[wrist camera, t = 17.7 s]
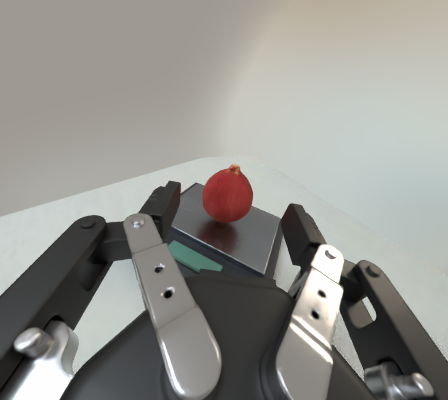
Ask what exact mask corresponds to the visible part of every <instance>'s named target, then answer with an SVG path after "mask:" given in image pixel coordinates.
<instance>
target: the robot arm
mask: <svg viewBox="0 0 448 400" xmlns="http://www.w3.org/2000/svg"><path fill="white" fill-rule="evenodd" d="M180 192H181V183H180V182H174V181H169V182H168V183H167V185H166V187H162V186H160V187H158V188H157V189H155V190H154V191H153V193H152V194H151V196H150V197H149V199H148V200H147V201H146V203H145V204H144V205H143V207H142V208H141V210H140V211H139V212H138V213H137V214H133V215H131V216H129V217H127V218H126V219H125V221H122V222H109V223H106V221H105V219H104V218H103V217H101V216H97V215H91V216H86V217H83V218H80V219H78V220H77V221H75V222H74V223H73V224H72V225H71V226H70V227H69V228H68V229H67V230H66V231H65V232H64V233H63V234H62V235H61V236H60V237H59V238H58V239H57V240H56V241H55V242H54V243H53V244H52V245H51V246H50V247H49V248H48V249H47V250H46V251H45V252H44V253H43V254H42V255H41V256H40V257H39V258H38V259H37V260H36V261H35V262H34V263H33V264H32V265H31V266H30V267H29V268H28V269H27V270H26V271H25V272H24V273H23V274H22V275H21V276H20V277H19V278H18V279H17V280H16V281H15V282H14V283H13V284H12V285H11V286H10V287H9V288H8V289H7V290H6V291H5V292H4V293H3V294H2V295H1V296H0V400H448V361H447V360H446V359H445V357H444V356H443V354H442V353H441V352H440V350H439V349H438V347H437V346H436V345H435V343H434V342H433V340H432V339H431V338H430V336H429V335H428V333H427V332H426V331H425V329H424V328H423V326H422V325H421V324H420V322H419V321H418V319H417V318H416V317H415V315H414V314H413V312H412V311H411V310H410V308H409V307H408V305H407V304H406V303H405V301H404V300H403V298H402V297H401V296H400V294H399V293H398V291H397V290H396V289H395V287H394V286H393V284H392V283H391V282H390V280H389V279H388V277H387V276H386V275H385V273H384V272H383V271H382V270H381V269H380V268H379V267H378V266H376V265H375V264H373V263H371V262H369V261H366V260H361V261H360V262H358V263H357V264H354V263H352V262H349V261H347V260H345V259H344V258H343V256H342V254H341V253H340V252H339V251H338V250H337V249H335V248H334V247H332V246H330V245H327V243H326V241H325V240H324V238H323V236H322V234H321V232H320V231H319V230H318V227H317V225H316V223H315V222H314V220H313V218H312V217H311V216H310V215H309V214H308V213H306V212H305V210H304V208H303V206H302V205H298V204H292V203H291V204H289V206H288V208H287V210H286V212H285V213H284V215H283V217H282V219H281V229H282V232H283V235H284V238H285V241H286V245H287V248H288V251H289V254H290V258H291V261H292V264H293V265H297V266H300V267H301V269H300V270H299V272H298V274H297V276H296V278H295V279H294V281H293V283H292V285H291V287H290V289H289V291H288V293H287V292H285V291H284V290H282V289H281V288H279V287H277V286H276V283H275V280H274V279H268V278H261V277H252V278H243V279H237V278H234V277H232V276H229V275H227V274H225V273H222V272H220V271H215V270H208V269H201V268H200V272H199V274H196V275H191V276H188V277H186V278H183V276H182V274H181V272H180V270H179V268H178V266H177V264H176V261H175V259H174V257H173V255H172V253H171V251H170V249H169V247H168V245H167V243H166V242H164V241H165V239H166V236H167V234H168V232H169V229H170V227H171V225H172V222H173V220H174V218H175V215H176V213H177V211H178V208H179V205H180ZM125 259H132V263H133V266H134V270H135V273H136V277H137V280H138V284H139V287H140V291H141V295H142V299H143V302H144V306H145V309H146V310H145V311H144V312H143V313H141V314H140V315H139V316H138V317H137V318H136V319H135V320H133V321H132V322H131V323H130V324H129V325H128V326H127V327H125V328H124V329H123V330H122V331H121V332H120V333H119V334H117V335H116V336H115V337H114V338H113V339H112V340H111V341H109V342H108V343H107V344H106V345H105V346H104V347H103V348H101V349H100V350H99V351H98V352H97V353H96V354H95V355H93V356H92V357H91V358H90V359H89V360H88V361H87V362H86V363H85V364H84V365H83V366H82V367H81V368H80V369H79V370H78V372H77V373H76V374H75V375H74V373H73V368H72V366H73V360H74V357H75V354H76V352H77V349H78V345H79V340H78V336H77V335H76V333H75V332H73V330H74V329H75V327H76V325H77V324H78V322H79V320H80V318H81V317H82V315H83V313H84V312H85V310H86V308H87V306H88V305H89V303H90V301H91V299H92V298H93V296H94V294H95V293H96V291H97V289H98V287H99V286H100V284H101V282H102V281H103V279H104V277H105V275H106V274H107V272H108V270H109V268H110V267H111V265H112V263H113V262H114V261H118V260H125ZM365 297H368V299H369V300H370V302H371V304H372V306H373V308H374V309H375V312H376V320H375V321H373V320H372V318H371V316H370V314H369V312H368V310H367V309H366V307H365V305H364V303H363V301H362V299H364V298H365ZM339 310H340V313H341V315H342V318H343V320H344V323H345V325H346V327H347V330H348V332H349V335H350V337H351V340H352V342H353V345H354V347H355V350H356V352H357V355H358V357H359V360H360V362H361V365H362V367H363V370H364V381H365V383H364V382H363V380H362V379H361V378H360V377H359V376H358V374H357V373H356V372H355V371H354V370H353V368H352V367H351V366H350V365H349V364H348V362H347V361H346V360H345V359H344V358H343V357H342V355H341V354H340V353H339V352H338V351H337V349H336V348H335V347H334V346H333V345H332V342H333V337H334V332H335V327H336V323H337V318H338V313H339Z"/></svg>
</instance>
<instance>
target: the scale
mask: <svg viewBox="0 0 448 400" xmlns="http://www.w3.org/2000/svg"><path fill="white" fill-rule="evenodd" d="M204 187H205V186H204V185H201V184H199V183H195V184H193V185H192V186H191V187H189V188H188V189H186V190H185V191H184V192H182V193H181V194H180V205H179V208H178V211H177V213H176V215H175V218H174V220H173V222H172V225H171V227H170V229H169V232H168V234H167V236H166V239H165V241H164V242H166V243H167V245H168V247H169V249H170V251H171V253H172V255H173V257H174V259H175V261H176V264H177V266H178V268H179V270H180V272H181V274H182V276H183V278H186V277H188V276H191V275H196V274H199V272H200V268H201V269H208V270H215V271H220V272H222V273H225V274H227V275H229V276H232V277H234V278H237V279H243V278H252V277H261V278H268V279H273V275H274V271H275V266H276V262H277V258H278V254H279V249H280V245H281V241H282V236H283V232H282V229H281V219H280V218H279V217H277V216H274V215H272V214H270V213H267V212H265V211H263V210H260V209H258V208H256V207H253V206H251V209H250V211H249V212H248V213H247V215H245V216H244V217H243V218H241V219H240V220H238V221H235V222H230V223H221V222H218V221H216V220H215V219H213V218H212V217H210V216H209V215H208V214H207V212H206V211H205V209H204V207H203V200H202V192H203V189H204Z"/></svg>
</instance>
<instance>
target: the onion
mask: <svg viewBox="0 0 448 400" xmlns="http://www.w3.org/2000/svg"><path fill="white" fill-rule="evenodd" d="M202 200H203V207H204V209H205V211H206V212H207V214H208V215H209V216H210V217H212V218H213V219H215V220H216V221H218V222H221V223H230V222H235V221H238V220H240V219H241V218H243V217H244V216H245V215H247V213H248V212H249V211H250V209H251V205H252V200H253V191H252V188H251V185H250V183H249V181H248V179H247V178H246V177H245V176H244V174H243V173H242V172H241V171H240V166H239V165H237V164H233V165H231V166H230V168H228V169H224V170H221V171H219V172H217V173H216V174H214V175H213V176H212V177H211V178H210V179H209V180H208V181H207V183H206V185H205V187H204V189H203V192H202Z"/></svg>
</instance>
